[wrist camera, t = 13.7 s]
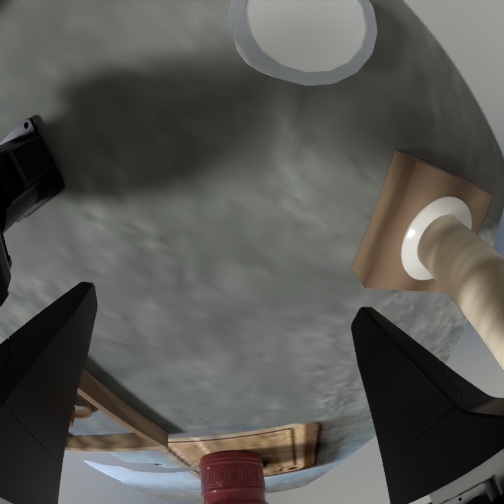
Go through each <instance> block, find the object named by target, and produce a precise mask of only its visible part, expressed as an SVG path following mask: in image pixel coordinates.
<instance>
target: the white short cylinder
mask: <svg viewBox="0 0 504 504" xmlns="http://www.w3.org/2000/svg"><path fill="white" fill-rule="evenodd" d="M228 12H229V17H230V22H231V27H232V32H233V37H234V41H235V45H236V50H237V51H238V53H239V54H240V56H241V57H242V58H243V60H244V61H245V63H246V64H248V65H249V66H251V67H253V68H254V69H256V70H257V71H259V72H260V73H263V74H266V75H269V76H272V77H275V78H278V79H282V80H286V81H289V82H293V83H297V84H300V85H304V86H312V85H326V84H335V83H337V82H339V81H341V80H343V79H345V78H347V77H349V76H351V75H353V74H355V73H357V72H358V71H359V70H360V69H361V67H362V66H363V65H364V64H365V62H366V61H367V60H368V59H369V58H370V56H371V55H372V53H373V49H374V45H375V41H376V37H377V33H378V30H377V24H376V19H375V14H374V9H373V6H372V4H371V3H370V1H369V0H231V2H230V5H229V9H228Z"/></svg>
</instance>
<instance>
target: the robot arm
mask: <svg viewBox="0 0 504 504" xmlns="http://www.w3.org/2000/svg"><path fill="white" fill-rule="evenodd" d="M27 123H28V124H29V127H27ZM57 183H58V184H59V185H60V187H58V186H57ZM64 186H65V183H64V181H63V179H62V177H61V175H60V173H59V172H58V170H57V168H56V166H55V162H54V160H53V158H52V156H51V155H50V153H49V151H48V149H47V147H46V145H45V143H44V141H43V139H42V137H41V136H40V134H39V132H38V130H37V128H36V126H35V124H34V122H33V120H32V119H31V118H28V119H25V120H24V121H22V122H21V123H20V124H19V125H18V126H17V127H16V128H15V129H14V130H13V131H12V132H11V133H10V134H9V135H8V136H7V137H6V138H5V139H4V140H3V141H2V142H1V143H0V307H1V306H2V305H3V303H4V302H5V300H6V298H7V297H8V295H9V292H8V290H7V289H8V287H9V283H10V279H11V273H10V268H11V265H12V261H11V258H10V256H9V255H8V251H7V248H6V244H5V240H4V236H3V234H4V233H5V232H6V231H7V230H8V229H9V228H10V227H11V226H12V225H13V224H14V223H15V222H20V221H21V220H22V219H23V218H25V217H26V216H27V215H29V214H30V213H31V212H33V211H34V210H35V209H37V208H38V207H39V206H41V205H42V204H43V203H45V202H46V201H48V200H49V199H50V198H52V197H53V196H55V195H56V194H57V193H59V192H60V191H61V190H63V189H64ZM96 312H97V297H96V291H95V286H94V284H93V283H90V282H80V283H79V284H78V285H76V286H75V287H73V288H72V289H71V290H69V291H68V292H67V293H65V294H64V295H62V296H61V297H60V298H58V299H57V300H56V301H54V302H53V303H52V304H50V305H49V306H48V307H46V308H45V309H44V310H42V311H41V312H40V313H39V314H37V315H36V316H35V317H33V318H32V319H31V320H30V321H28V322H27V323H26V324H25V325H23V326H22V327H21V328H20V329H18V330H17V331H16V332H15V333H13V334H12V335H11V336H10V337H9V339H8V338H7V339H6V340H5V341H4V342H2V343H1V344H0V504H58V496H59V486H60V479H61V470H62V463H63V457H64V451H65V446H66V440H67V435H68V430H69V425H70V420H71V416H72V411H73V407H74V403H75V399H76V395H77V391H78V387H79V383H80V379H81V376H82V372H83V368H84V365H85V361H86V358H87V355H88V351H89V346H90V341H91V336H92V331H93V326H94V321H95V317H96ZM351 331H352V336H353V341H354V346H355V352H356V357H357V362H358V367H359V371H360V374H361V378H362V381H363V385H364V388H365V392H366V396H367V400H368V403H369V407H370V411H371V415H372V419H373V423H374V427H375V431H376V435H377V440H378V444H379V448H380V453H381V457H382V462H383V467H384V472H385V477H386V482H387V487H388V492H389V498H390V504H409V503H411V502H413V501H416V500H418V499H420V498H422V497H424V496H426V495H428V494H429V496H430V498H431V502H430V503H428V504H504V398H496V397H492V396H489V395H487V394H486V393H484V392H483V391H481V390H480V389H478V388H477V387H475V386H474V385H473V384H471V383H470V382H468V381H467V380H466V379H464V378H463V377H461V376H460V375H459V374H457V373H456V372H455V371H453V370H452V369H451V368H449V367H448V366H447V365H445V364H444V363H443V362H442V361H439V359H438V358H437V357H435V356H434V355H433V354H432V353H430V352H429V351H428V350H427V349H425V348H424V347H423V346H421V345H420V344H419V343H418V342H416V341H415V340H414V339H412V338H411V337H410V336H409V335H407V334H406V333H405V332H403V331H402V330H401V329H400V328H398V327H397V326H396V325H394V324H393V323H392V322H390V321H389V320H388V319H387V318H385V317H384V316H383V315H381V314H380V313H379V312H377V311H376V310H375V309H373V308H372V307H361V308H360V309H359V311H358V313H357V315H356V316H355V318H354V320H353V322H352V325H351Z"/></svg>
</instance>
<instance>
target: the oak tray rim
mask: <svg viewBox="0 0 504 504" xmlns="http://www.w3.org/2000/svg"><path fill="white" fill-rule="evenodd" d="M77 393H78V394H79V395H81V396H82V397H83V398H85V399H86V400H87V401H88V402H90V403H91V404H93V405H94V406H95V407H97V408H98V409H99V410H101V411H102V412H104V413H105V414H106V415H108V416H109V417H111V418H112V419H114V420H115V421H117V422H118V423H120V424H121V425H123V426H124V427H126V428H128V429H129V430H131V431H132V432H134V433H129V434H115V435H92V436H67V440H66V446H65V450H76V451H78V450H79V451H134V450H151V449H163V448H168V432H167V431H165V430H164V429H162V428H161V427H159V426H158V425H156V424H155V423H153V422H152V421H150V420H149V419H147V418H146V417H145V416H143V415H142V414H140V413H139V412H138V411H136V410H135V409H133V408H132V407H131V406H129V405H128V404H127V403H125V402H124V401H123V400H121V399H120V398H119V397H118V396H116V395H115V394H114V393H112V392H111V391H110V390H109V389H108V388H106V387H105V386H104V385H103V384H101V383H100V382H99V381H98V380H97V379H96V378H94V377H93V376H92V375H91V374H90V373H89V372H87V371H86V370H85V369H84V368H83V372H82V376H81V379H80V383H79V387H78V391H77Z"/></svg>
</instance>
